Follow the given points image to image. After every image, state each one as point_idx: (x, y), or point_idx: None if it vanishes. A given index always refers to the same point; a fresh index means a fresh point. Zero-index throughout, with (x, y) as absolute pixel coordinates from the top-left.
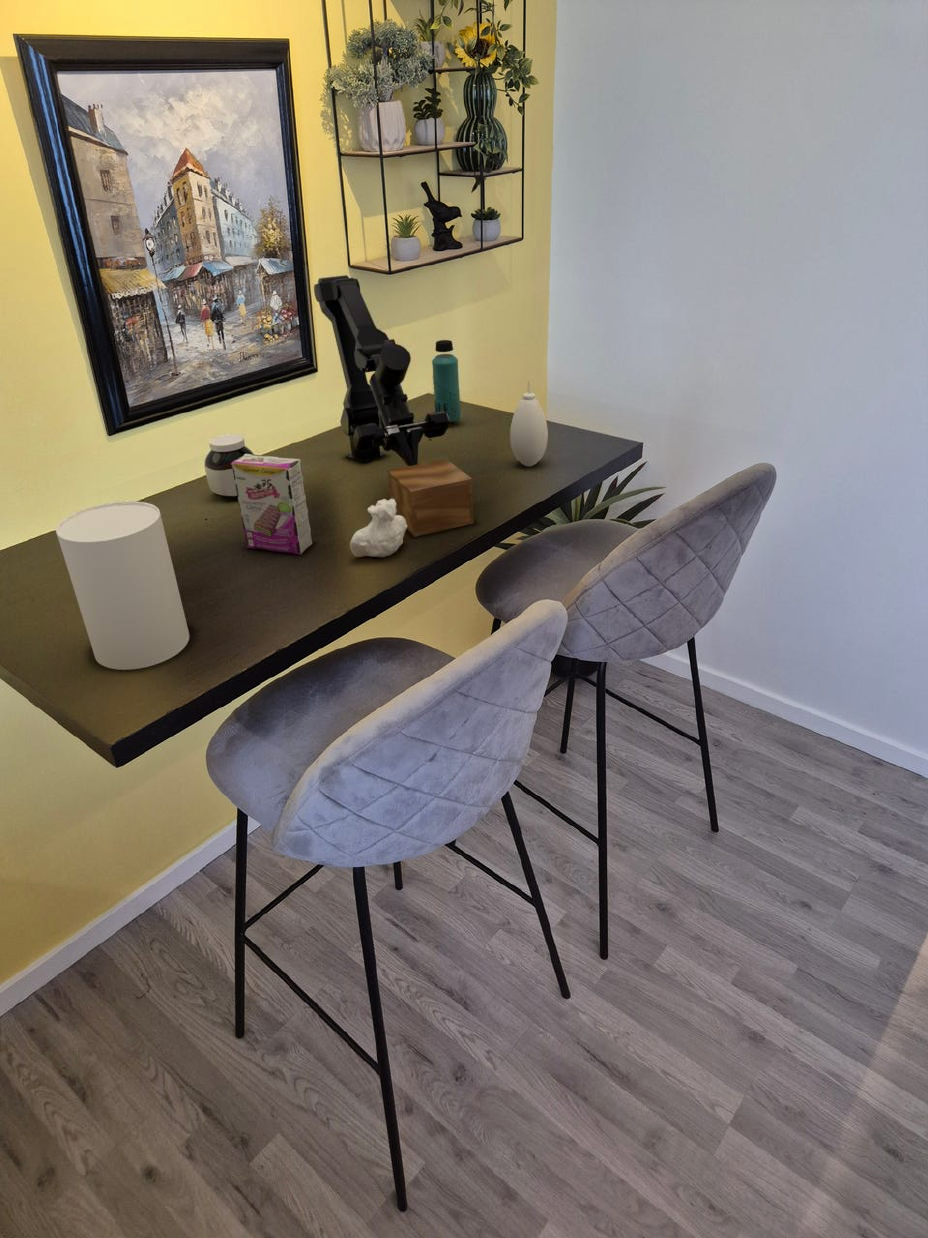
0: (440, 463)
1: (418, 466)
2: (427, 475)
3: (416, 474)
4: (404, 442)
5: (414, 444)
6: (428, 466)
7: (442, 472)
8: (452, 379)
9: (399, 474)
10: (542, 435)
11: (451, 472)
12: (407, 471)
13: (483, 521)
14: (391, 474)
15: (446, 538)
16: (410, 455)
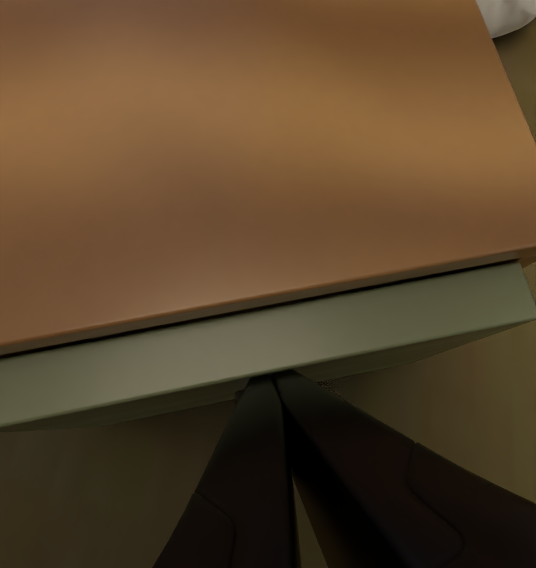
0: (12, 242)
1: (258, 236)
2: (224, 8)
3: (312, 58)
4: (482, 550)
5: (241, 552)
6: (159, 203)
7: (78, 26)
8: None
9: (464, 102)
10: None
11: (3, 2)
12: (385, 147)
13: None
14: (533, 147)
15: None
16: (325, 428)
